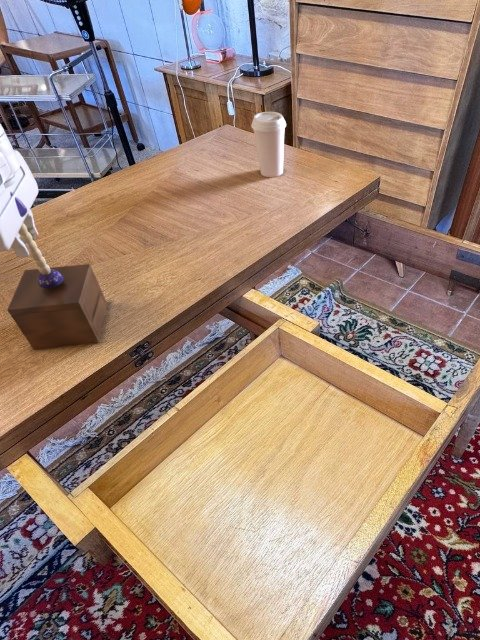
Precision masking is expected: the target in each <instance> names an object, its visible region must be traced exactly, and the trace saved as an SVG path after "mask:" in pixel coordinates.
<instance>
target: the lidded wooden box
mask: <svg viewBox="0 0 480 640" xmlns="http://www.w3.org/2000/svg"><path fill="white" fill-rule="evenodd" d="M50 269H52V270H56V271H58V272H59V273H60V274H61V275H62V276H63V281H62V282H61V283H60V284H59V285H57V286H55V287H52V288H42V287H40V286H39V284H38V280H37V279H38V276H39V274H40V273H41V272H40V271H39V269H38V268H33V269H25V270H24V271H23V274H22V276H21V278H20V281H19V282H18V285H17V287H16V289H15V292H14V294H13V296H12V297H11V300H10V302H9V305H8V307H7V309H6V310H7V312H8V313H9V315H10V317H11V319H13V321H14V322H15V324H16V326H17V327H18V329H19V330H20V332H21V334H22V335H23V336H24V338H25V339H26V341H27V342H28V343H29V345H30V346H31V348H32V350H45V349H54V348H62V347H63V348H65V347H71V346H73V347H74V346H80V345H89V344H90V345H91V344H99V343H100V339H101V336H102V335H101V334H102V331H103V326H104V321H105V317H106V312H107V308H108V302H107V300H106V297H105V295H104V292H103V290H102V288H101V285H100V284H99V281H98V279H97V277H96V275H95V272H94V270H93V267H92V265H91V264H90V263H86V264H85V263H84V264H75V265H66V266H65V265H64V266H55V267H50Z"/></svg>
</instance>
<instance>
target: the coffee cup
mask: <svg viewBox="0 0 480 640" xmlns="http://www.w3.org/2000/svg"><path fill="white" fill-rule="evenodd" d="M286 127H287V123H286V120H285V118H284V116H283V114H282V113H280V112H276V111H263V112H258V113H256V114H254V116H253V120H252V121H251V129H252V130H253V136H254V141H255V147H256V152H257V153H256V154H257V160H258V164H259V171H260V174H261V176H263V177H265V178H266V177H267V178H275V177H279V176H281V175H283V173H284V153H285V152H284V149H285V148H284V147H285V128H286Z"/></svg>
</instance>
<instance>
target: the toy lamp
mask: <svg viewBox="0 0 480 640" xmlns="http://www.w3.org/2000/svg"><path fill="white" fill-rule="evenodd" d="M10 195H11V196H12V195H13V192H12V191H11V192H10ZM15 202H16V205H17V208H18V211H19V214H20V216H21V217H23V216H25V214H26V213H27V208H26V206H25V205H24V204H23V203H22V202H21V201H20V200H19V199H18V198H17V197H15ZM18 233H19V235H20V240H21V241H22V242H23V243H26V242H27V244H28V246H29V248H30V250H31V251H30V254H29V257H30V258H31V259H33V263H34V264H35V265H36V266H37V269H39V271H40V272H41V273H40V274H39V276H38V279H37V280H38V284H39V286H40V287H42V288H52V287H55V286H57V285H59V284H60V283H61V282H62V281H63V276H62V275H61V274H60V273H59V272H58V271H56V270H52V269H50V268H51V267H50V266H49V264H47V260H46V259H45V257H44V256H43V255H42V251H41V250H40V249H39V248H38V244H37V242H35V240H32V236H31V234H30V233H29V232H28V230H27V227H26V225H25V224H24V223H23V224H22V226H21V228H20V230H19V231H18Z"/></svg>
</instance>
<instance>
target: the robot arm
mask: <svg viewBox="0 0 480 640" xmlns="http://www.w3.org/2000/svg"><path fill="white" fill-rule="evenodd" d="M11 191H12V192H13V195H12V196H11V195H10V192H11ZM38 195H39V186H38V183H37V181H36V179H35V177H34V175H33V173H32V171H31V169H30V167H29V166H28V164H27V162H26V160H25V159H24V157H23V156H22V154H21V152H20V151H18V150H16V149H14V148H13V146H12V144H11V142H10V140H9V137H8V135H7V133H6V131H5V129H4V127H3V125H2V124H1V123H0V252H7V251H10V249H13V251H14V253H15V255H16V257H18V258H20V259H24V258H28V257H30V255H29V254H30V251H31V250H30V248H29V246H28V244H27V242H26V243H24V242H22V241H21V239H20V235H19V233H18V231H19V230H20V228H21V226H22V224H23V223H24V224H25V225H26V227H27V230H28V232H29V233H30V234H31V236H32V240H33V241H36V240H37V239H38V236H39V231H38V230H37V228H36V224H35V220H34V216H33V211H32V209H31V208H32V206H33V204H34V202H35V201H36V199H37V196H38ZM15 197H17V198H18V199H19V200H20V201H21V202H22V203H23V204H24V205H25V206H26V208H27V213H26V214H25V216H23V217H21V216H20V214H19V211H18V208H17V205H16V202H15Z"/></svg>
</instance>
